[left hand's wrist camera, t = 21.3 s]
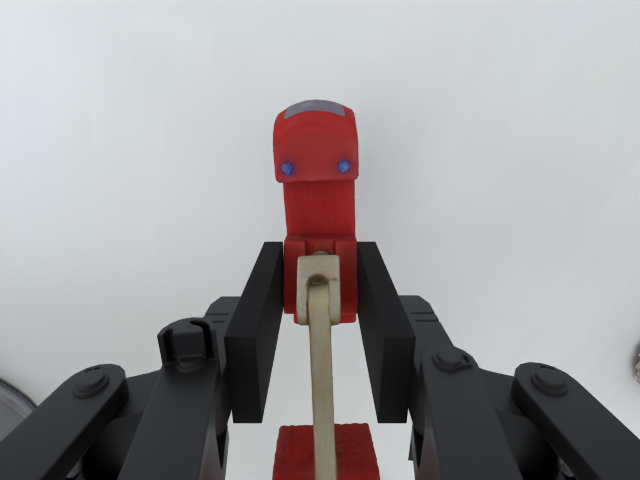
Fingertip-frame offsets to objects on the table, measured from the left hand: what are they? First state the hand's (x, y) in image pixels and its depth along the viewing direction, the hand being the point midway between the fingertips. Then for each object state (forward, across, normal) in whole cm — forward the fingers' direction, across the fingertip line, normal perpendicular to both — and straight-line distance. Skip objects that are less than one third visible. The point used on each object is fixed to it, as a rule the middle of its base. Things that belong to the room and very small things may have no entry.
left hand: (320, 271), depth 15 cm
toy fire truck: (+3, 0, 0) cm, 3 cm away
